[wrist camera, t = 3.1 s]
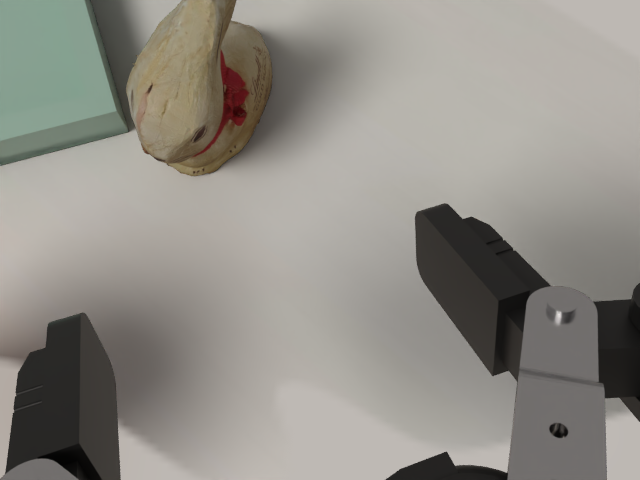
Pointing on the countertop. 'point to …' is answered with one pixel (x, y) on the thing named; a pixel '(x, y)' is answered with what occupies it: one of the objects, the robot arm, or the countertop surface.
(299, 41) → the countertop surface
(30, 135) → the tray
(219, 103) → the chocolate bunny
